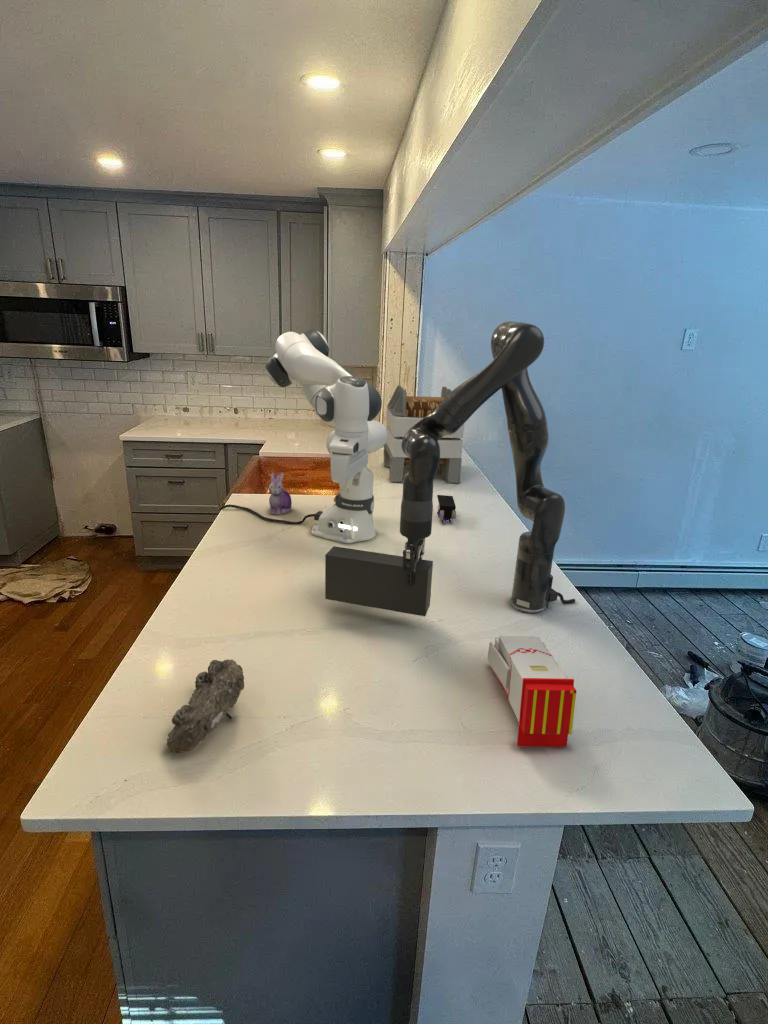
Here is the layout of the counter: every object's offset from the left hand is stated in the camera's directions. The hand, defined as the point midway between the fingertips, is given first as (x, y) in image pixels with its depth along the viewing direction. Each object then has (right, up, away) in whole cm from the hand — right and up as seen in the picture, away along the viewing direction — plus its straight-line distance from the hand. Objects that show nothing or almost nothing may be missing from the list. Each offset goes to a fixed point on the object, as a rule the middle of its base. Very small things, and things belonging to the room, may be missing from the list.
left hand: (350, 490), depth 154 cm
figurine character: (+33, -9, +62) cm, 70 cm away
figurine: (-30, -6, +62) cm, 69 cm away
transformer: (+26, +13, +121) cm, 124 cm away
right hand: (+16, -22, -15) cm, 32 cm away
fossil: (-24, -45, -46) cm, 69 cm away
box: (+7, -29, -10) cm, 32 cm away
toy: (+38, -45, -37) cm, 69 cm away
